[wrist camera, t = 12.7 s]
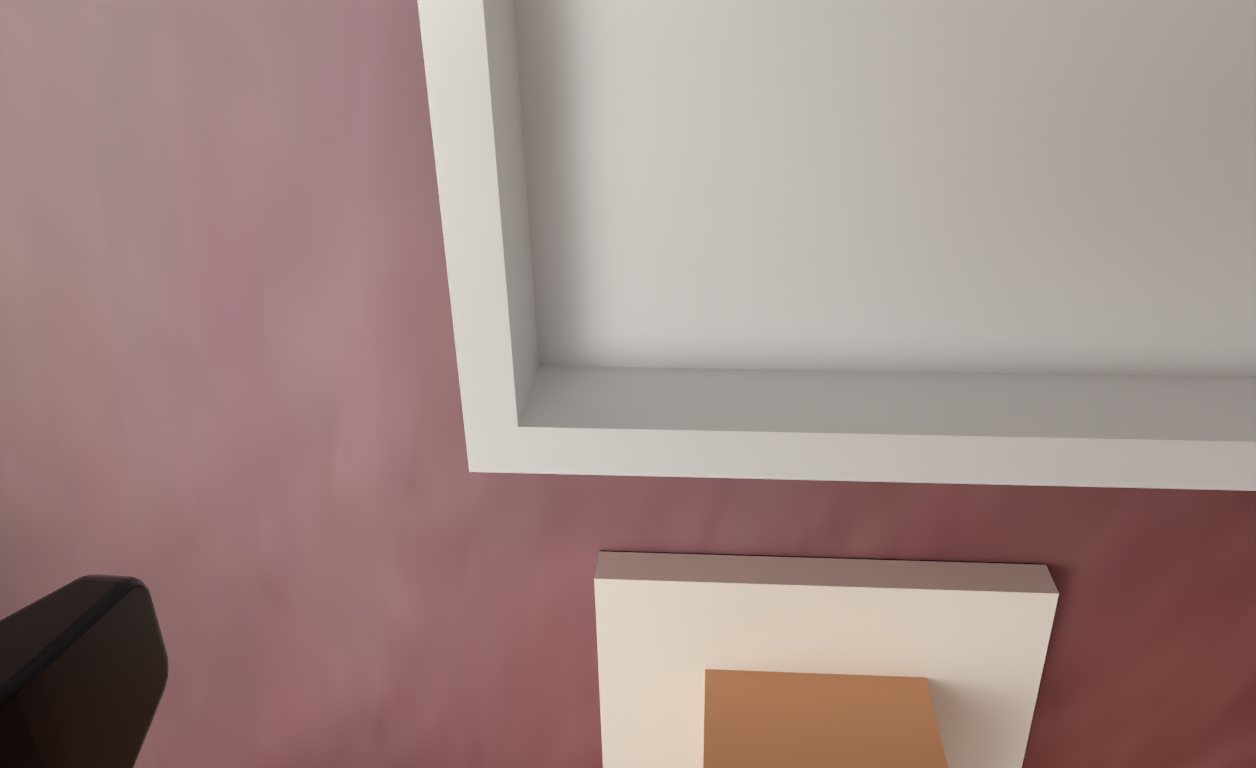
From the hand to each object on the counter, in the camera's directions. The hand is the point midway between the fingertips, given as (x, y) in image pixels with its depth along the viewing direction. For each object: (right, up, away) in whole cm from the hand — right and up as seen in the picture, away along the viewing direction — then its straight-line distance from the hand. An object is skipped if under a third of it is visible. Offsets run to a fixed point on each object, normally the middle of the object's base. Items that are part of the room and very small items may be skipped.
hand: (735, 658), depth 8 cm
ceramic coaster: (+4, -6, +18) cm, 19 cm away
